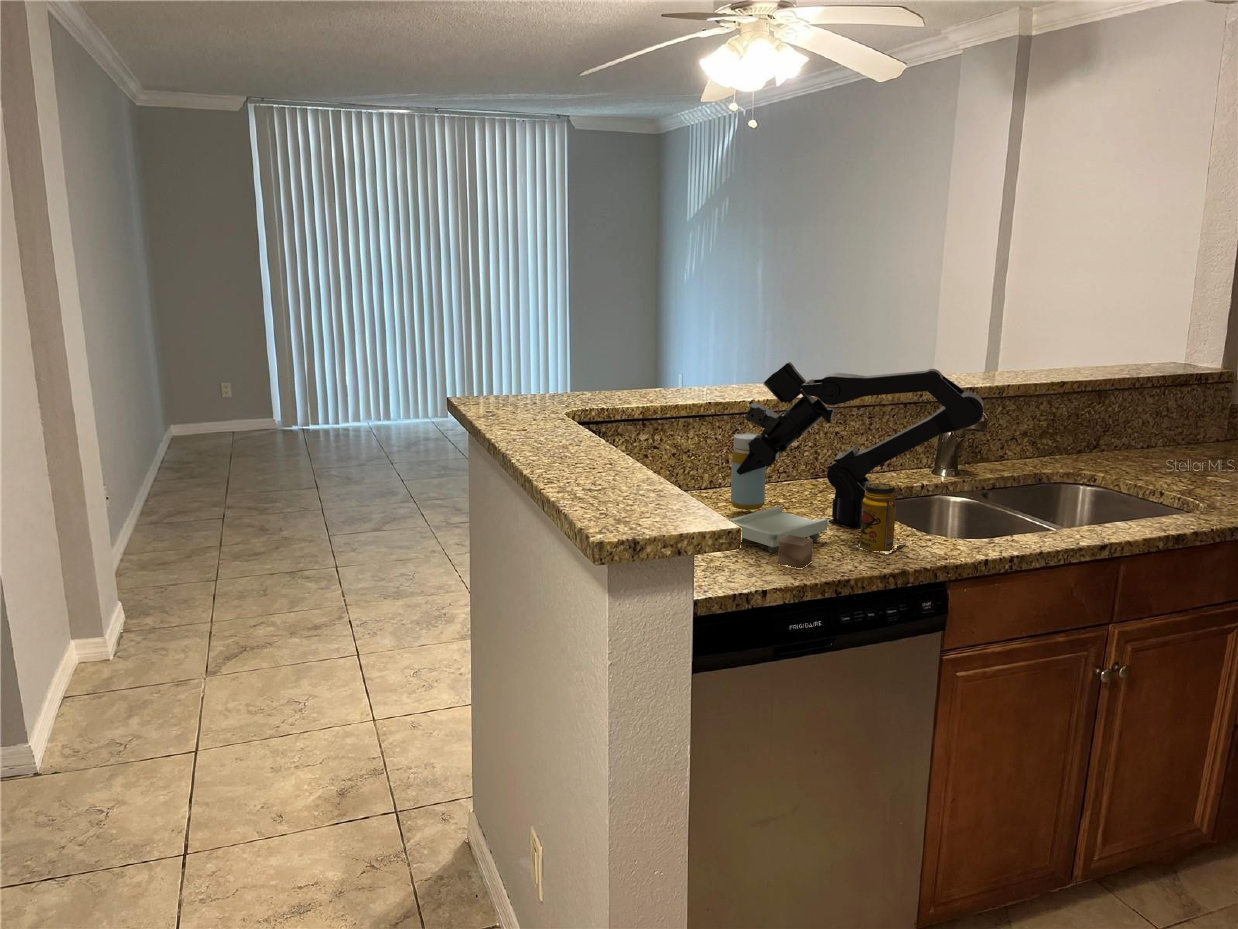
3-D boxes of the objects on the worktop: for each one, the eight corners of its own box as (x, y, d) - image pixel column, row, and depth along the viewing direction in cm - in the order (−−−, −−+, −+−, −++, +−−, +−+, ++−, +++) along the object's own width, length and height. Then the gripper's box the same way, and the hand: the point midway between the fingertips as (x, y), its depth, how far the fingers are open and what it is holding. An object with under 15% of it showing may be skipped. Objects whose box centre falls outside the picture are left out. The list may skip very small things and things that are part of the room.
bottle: (763, 511, 191) (765, 440, 187) (729, 509, 192) (730, 439, 188) (765, 502, 197) (766, 433, 194) (732, 500, 199) (733, 432, 195)
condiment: (850, 548, 173) (854, 485, 170) (870, 537, 179) (875, 477, 176) (887, 556, 168) (892, 492, 165) (906, 545, 174) (911, 483, 172)
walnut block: (811, 563, 164) (813, 539, 163) (801, 570, 161) (802, 545, 160) (788, 558, 167) (789, 534, 166) (777, 565, 163) (778, 541, 162)
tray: (826, 539, 178) (827, 519, 177) (772, 556, 167) (773, 535, 166) (777, 525, 186) (778, 505, 185) (723, 540, 176) (724, 520, 175)
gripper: (779, 384, 196) (727, 432, 202) (760, 397, 179) (704, 449, 185) (815, 423, 195) (761, 470, 201) (799, 440, 178) (741, 490, 184)
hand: (742, 469), depth 193 cm, fingers closed on bottle, 7 cm apart
